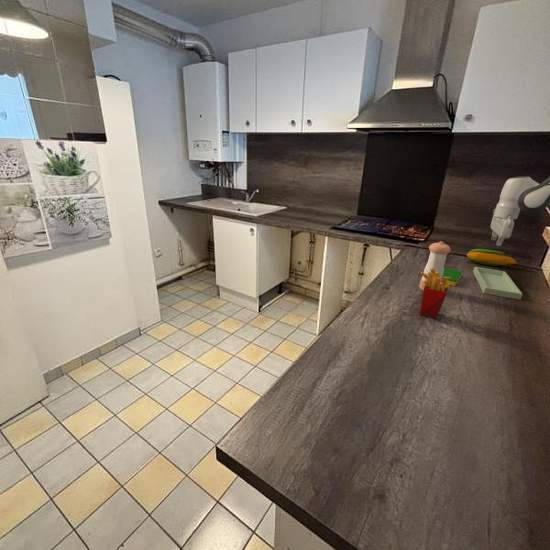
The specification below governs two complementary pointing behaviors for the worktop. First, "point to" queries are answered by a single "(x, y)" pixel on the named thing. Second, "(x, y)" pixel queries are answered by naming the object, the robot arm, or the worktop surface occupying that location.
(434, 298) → the french fries
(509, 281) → the tray
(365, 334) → the worktop surface
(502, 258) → the corn
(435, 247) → the pepper shaker
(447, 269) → the dish sponge
